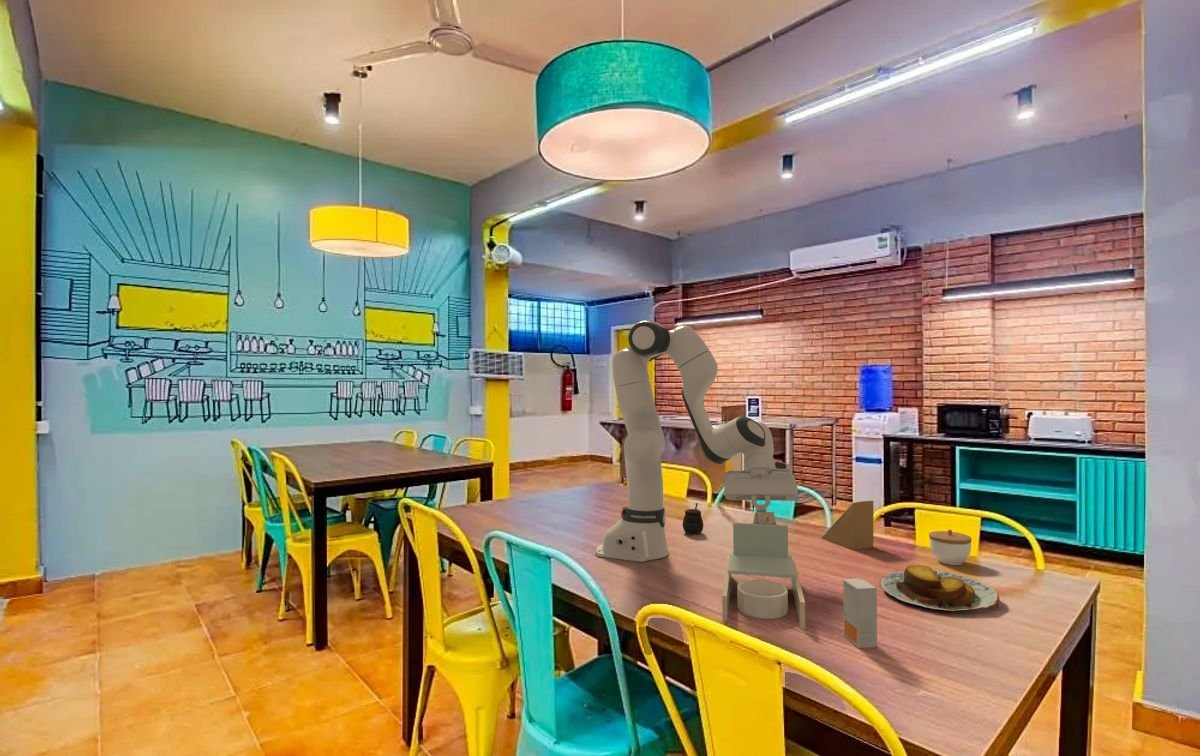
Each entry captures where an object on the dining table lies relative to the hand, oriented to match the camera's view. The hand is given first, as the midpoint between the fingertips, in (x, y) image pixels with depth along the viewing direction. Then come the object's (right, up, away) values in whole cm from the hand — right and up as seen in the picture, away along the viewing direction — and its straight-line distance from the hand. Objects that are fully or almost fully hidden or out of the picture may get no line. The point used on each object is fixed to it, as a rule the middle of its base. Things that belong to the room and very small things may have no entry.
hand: (761, 511), depth 166 cm
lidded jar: (+58, -17, +9) cm, 61 cm away
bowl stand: (-5, -17, -20) cm, 27 cm away
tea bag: (+9, -17, +31) cm, 37 cm away
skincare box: (+8, -17, -44) cm, 48 cm away
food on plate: (+38, -17, -18) cm, 46 cm away
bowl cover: (-4, -11, -13) cm, 17 cm away
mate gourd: (-12, -17, +44) cm, 49 cm away
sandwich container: (+36, -17, +31) cm, 50 cm away
